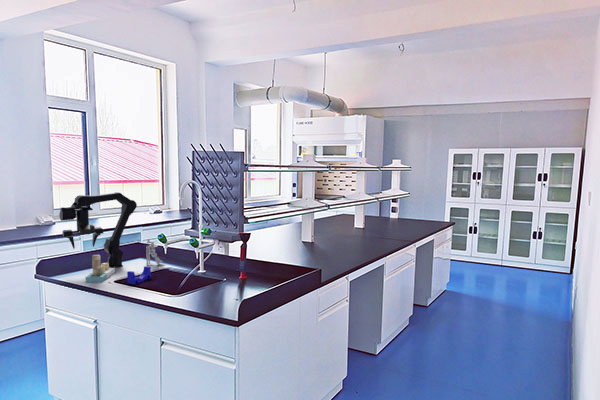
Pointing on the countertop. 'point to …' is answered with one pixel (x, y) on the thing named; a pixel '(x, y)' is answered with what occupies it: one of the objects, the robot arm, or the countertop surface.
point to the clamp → (152, 254)
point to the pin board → (104, 274)
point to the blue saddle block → (145, 275)
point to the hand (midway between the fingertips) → (83, 247)
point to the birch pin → (96, 265)
